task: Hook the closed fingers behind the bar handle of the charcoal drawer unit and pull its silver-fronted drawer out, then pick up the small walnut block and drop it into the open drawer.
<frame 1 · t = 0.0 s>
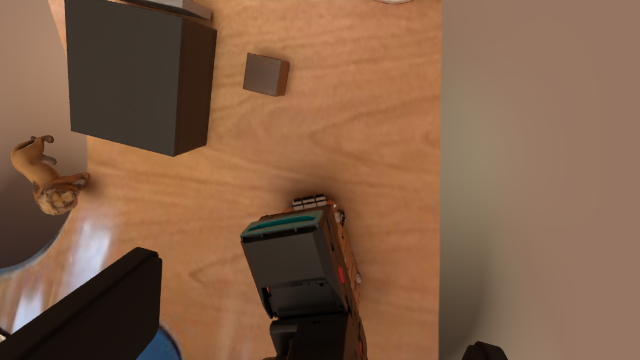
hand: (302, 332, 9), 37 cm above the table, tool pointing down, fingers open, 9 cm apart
cabinet: (165, 80, 45), on the table
block: (271, 76, 43), on the table
drawer: (146, 35, 39), point 4 cm above the table, slide at 1.0 cm
lion figurine: (74, 167, 52), on the table
bill acceptor: (322, 249, 50), on the table
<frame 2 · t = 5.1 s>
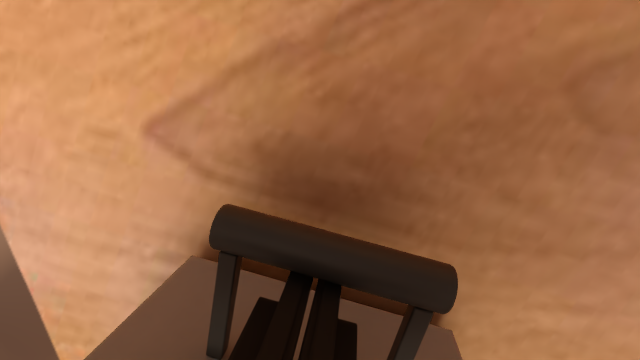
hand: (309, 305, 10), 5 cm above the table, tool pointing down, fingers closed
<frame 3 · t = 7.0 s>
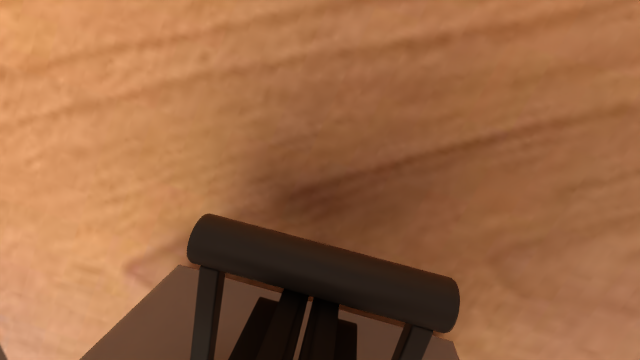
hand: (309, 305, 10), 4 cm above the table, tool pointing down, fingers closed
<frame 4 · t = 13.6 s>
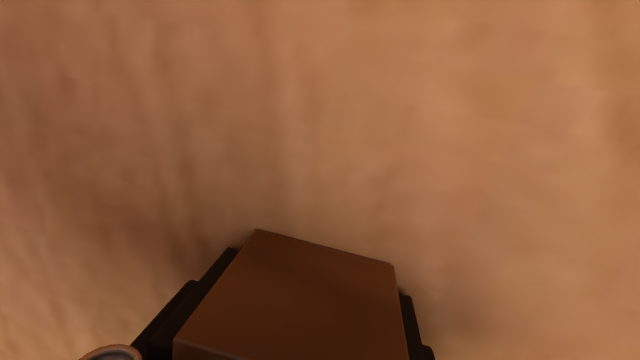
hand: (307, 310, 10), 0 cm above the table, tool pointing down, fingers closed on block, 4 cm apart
block: (309, 302, 10), on the table, touching gripper
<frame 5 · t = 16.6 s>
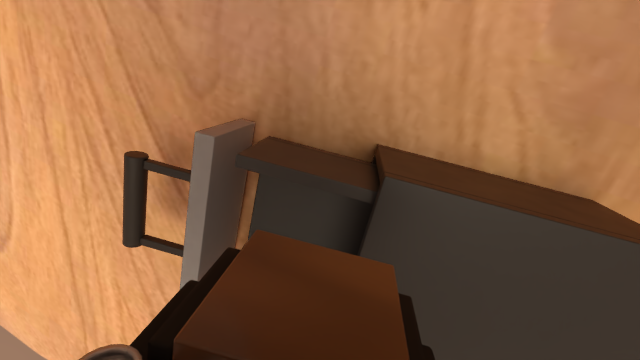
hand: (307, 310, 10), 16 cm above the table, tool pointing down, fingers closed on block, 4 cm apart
cabinet: (447, 251, 25), on the table
block: (310, 302, 10), point 15 cm above the table, touching gripper
drawer: (273, 230, 22), point 4 cm above the table, slide at 9.5 cm
when the fingers open (6 cm above the table, at t = 19.9 s): block drops 3 cm, resting on drawer.
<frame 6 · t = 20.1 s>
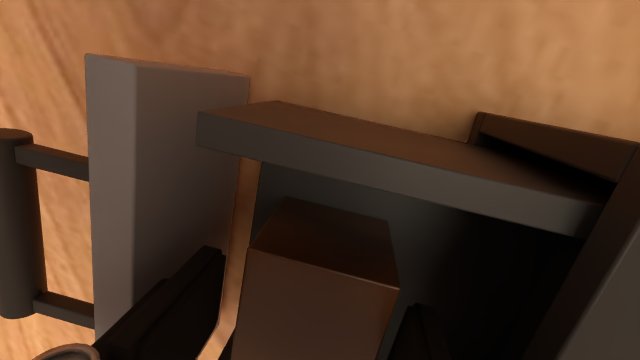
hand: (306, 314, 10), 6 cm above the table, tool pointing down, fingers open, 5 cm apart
cabinet: (596, 301, 14), on the table
block: (325, 253, 13), point 2 cm above the table, touching drawer
drawer: (289, 278, 11), point 4 cm above the table, slide at 9.7 cm, touching block, gripper
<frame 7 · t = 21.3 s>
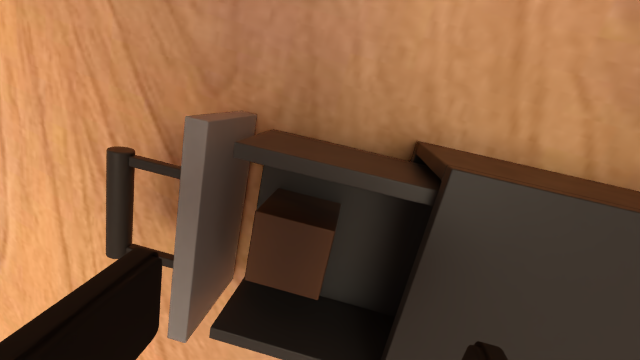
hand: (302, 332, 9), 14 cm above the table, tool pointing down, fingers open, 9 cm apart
cabinet: (500, 264, 22), on the table
block: (303, 224, 21), point 2 cm above the table, touching drawer
drawer: (279, 235, 19), point 4 cm above the table, slide at 11.0 cm, touching block
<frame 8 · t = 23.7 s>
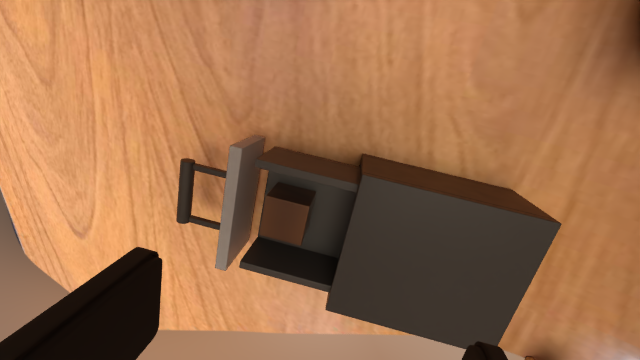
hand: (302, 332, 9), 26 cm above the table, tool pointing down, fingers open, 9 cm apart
cabinet: (415, 229, 35), on the table
block: (293, 204, 34), point 2 cm above the table, touching drawer
drawer: (278, 210, 32), point 4 cm above the table, slide at 11.0 cm, touching block
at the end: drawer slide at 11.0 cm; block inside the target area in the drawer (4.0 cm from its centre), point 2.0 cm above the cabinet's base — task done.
